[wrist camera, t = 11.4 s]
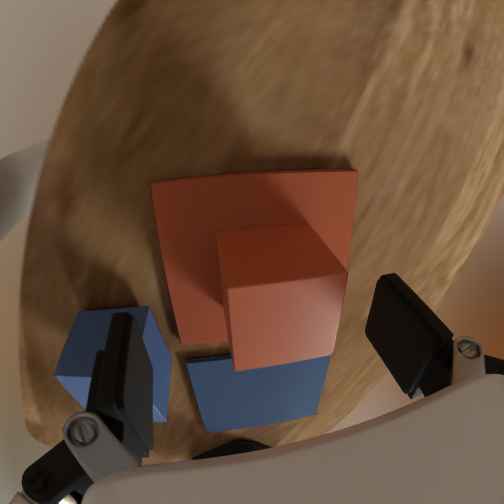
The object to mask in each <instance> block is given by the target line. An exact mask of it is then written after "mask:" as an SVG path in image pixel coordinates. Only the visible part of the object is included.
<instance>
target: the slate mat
mask: <svg viewBox="0 0 504 504" xmlns="http://www.w3.org/2000/svg"><path fill="white" fill-rule="evenodd" d="M329 359H330V355H327V356H323V357H318V358H313V359H308V360H303V361H297V362H292V363H286V364H281V365H275V366H269V367H262V368H256V369H249V370H242V371H234V369H233V363H232V358H231V354H228V355H219V356H211V357H201V358H191V359H186V365H187V369H188V372H189V376H190V380H191V383H192V387H193V390H194V394H195V397H196V401H197V404H198V407H199V411H200V414H201V417H202V420H203V423H204V427H205V430H206V432H217V431H226V430H234V429H241V428H248V427H255V426H261V425H267V424H272V423H278V422H283V421H288V420H293V419H298V418H302V417H307V416H311V415H315V414H316V411H317V407H318V403H319V400H320V396H321V392H322V388H323V384H324V380H325V376H326V372H327V367H328V363H329Z"/></svg>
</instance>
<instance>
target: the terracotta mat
mask: <svg viewBox="0 0 504 504" xmlns="http://www.w3.org/2000/svg"><path fill="white" fill-rule="evenodd" d="M357 179H358V171H357V170H355V169H316V170H287V171H267V172H251V173H236V174H224V175H212V176H201V177H191V178H182V179H173V180H164V181H156V182H152V183H151V192H152V199H153V206H154V212H155V219H156V225H157V231H158V237H159V243H160V248H161V254H162V259H163V264H164V270H165V275H166V280H167V284H168V289H169V294H170V299H171V303H172V308H173V312H174V317H175V321H176V325H177V329H178V334H179V338H180V342H181V345H182V346H185V345H195V344H205V343H214V342H223V341H229V340H228V334H227V328H226V322H225V316H224V310H223V302H222V292H221V281H220V271H219V260H218V248H217V236H216V233H217V232H224V231H234V230H244V229H255V228H266V227H277V226H288V225H299V224H310V225H311V227H312V228H313V229H314V230H315V231H316V233H317V234H318V235H319V236H320V238H321V239H322V240H323V241H324V242H325V244H326V245H327V246H328V247H329V249H330V250H331V251H332V252H333V254H334V255H335V256H336V257H337V259H338V260H339V261H340V262H341V264H342V265H343V266H344V267H345V269H347V263H348V256H349V249H350V242H351V234H352V226H353V218H354V209H355V200H356V190H357Z"/></svg>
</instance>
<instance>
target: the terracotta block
mask: <svg viewBox="0 0 504 504" xmlns="http://www.w3.org/2000/svg"><path fill="white" fill-rule="evenodd" d="M216 236H217V248H218V260H219V271H220V281H221V292H222V302H223V310H224V316H225V322H226V328H227V334H228V340H229V346H230V352H231V358H232V363H233V369H234V371H242V370H249V369H256V368H262V367H269V366H275V365H281V364H286V363H292V362H297V361H303V360H308V359H313V358H318V357H323V356H327V355H331V354H333V349H334V345H335V340H336V336H337V331H338V326H339V321H340V316H341V311H342V306H343V300H344V295H345V289H346V283H347V277H348V271H347V270H346V269H345V267H344V266H343V265H342V264H341V262H340V261H339V260H338V259H337V257H336V256H335V255H334V254H333V252H332V251H331V250H330V249H329V247H328V246H327V245H326V244H325V242H324V241H323V240H322V239H321V238H320V236H319V235H318V234H317V233H316V231H315V230H314V229H313V228H312V227H311V225H310V224H299V225H288V226H277V227H266V228H255V229H244V230H234V231H224V232H217V233H216Z"/></svg>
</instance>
